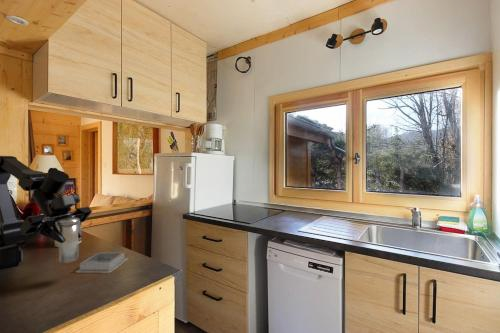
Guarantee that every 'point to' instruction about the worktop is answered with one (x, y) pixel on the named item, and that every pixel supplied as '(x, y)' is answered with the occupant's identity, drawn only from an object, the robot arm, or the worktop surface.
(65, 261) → the lidded steel tumbler
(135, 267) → the worktop surface
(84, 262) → the collar
